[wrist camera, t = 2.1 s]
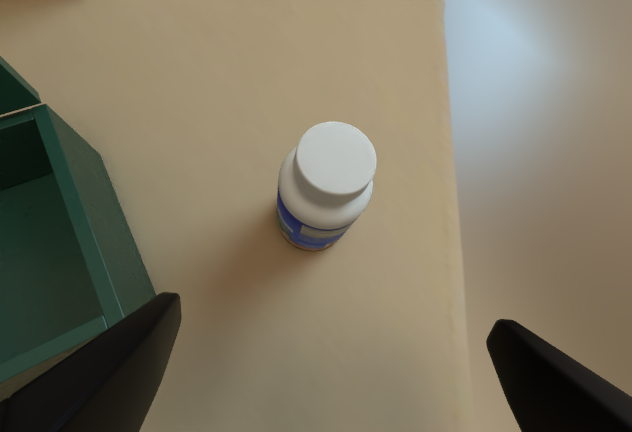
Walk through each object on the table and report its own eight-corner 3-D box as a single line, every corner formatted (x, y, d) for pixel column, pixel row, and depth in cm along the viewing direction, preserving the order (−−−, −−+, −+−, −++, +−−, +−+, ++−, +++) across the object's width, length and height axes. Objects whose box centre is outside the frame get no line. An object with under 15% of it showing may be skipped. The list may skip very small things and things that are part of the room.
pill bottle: (275, 187, 24) (275, 105, 15) (341, 185, 25) (381, 107, 16) (278, 254, 22) (281, 210, 13) (349, 250, 23) (399, 206, 14)
